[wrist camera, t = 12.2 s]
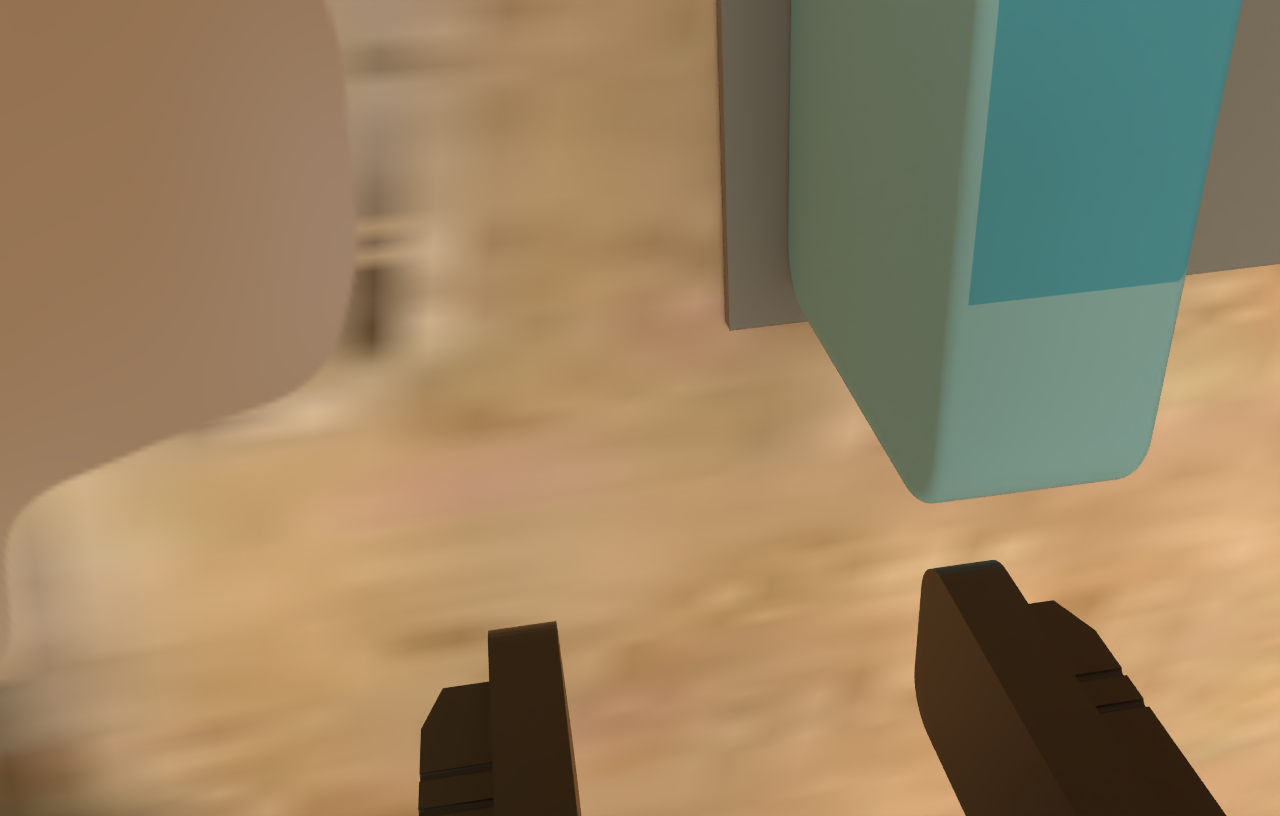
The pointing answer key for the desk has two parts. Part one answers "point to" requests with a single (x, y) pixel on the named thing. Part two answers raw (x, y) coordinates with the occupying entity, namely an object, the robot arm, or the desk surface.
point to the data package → (1001, 222)
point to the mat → (759, 158)
